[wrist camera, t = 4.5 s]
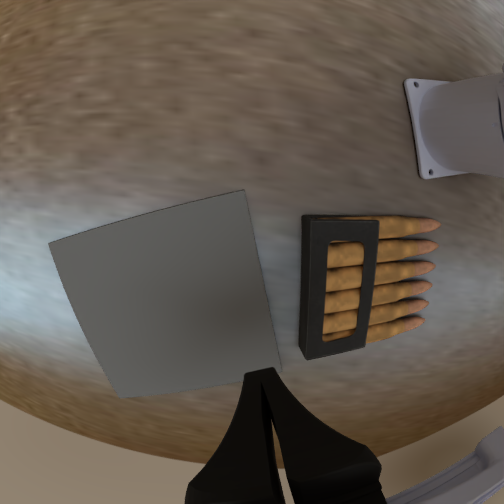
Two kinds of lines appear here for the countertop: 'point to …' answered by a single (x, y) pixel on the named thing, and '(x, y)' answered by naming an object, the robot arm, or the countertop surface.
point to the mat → (171, 297)
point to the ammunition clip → (359, 280)
